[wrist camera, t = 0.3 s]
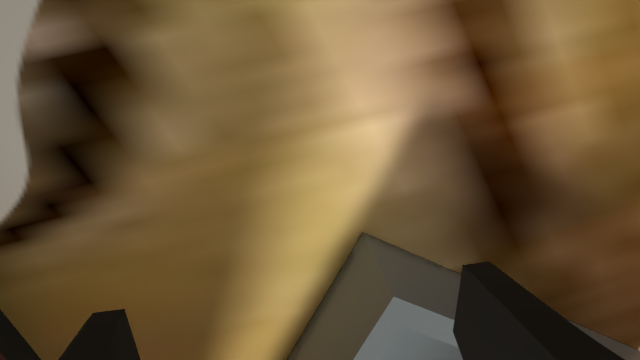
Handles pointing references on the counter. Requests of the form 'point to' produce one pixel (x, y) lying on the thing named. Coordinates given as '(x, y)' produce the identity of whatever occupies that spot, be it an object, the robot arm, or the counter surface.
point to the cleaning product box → (13, 343)
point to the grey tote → (394, 310)
